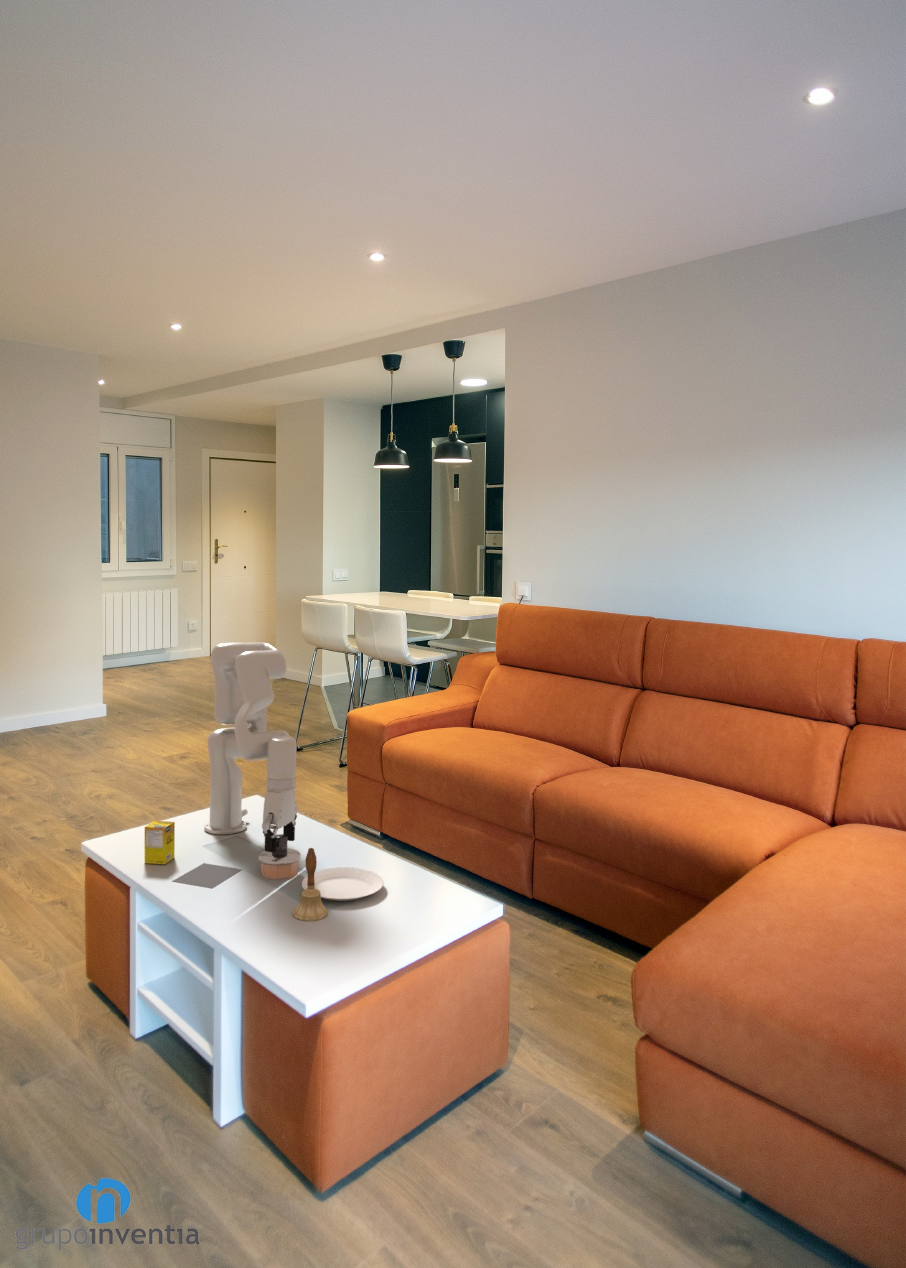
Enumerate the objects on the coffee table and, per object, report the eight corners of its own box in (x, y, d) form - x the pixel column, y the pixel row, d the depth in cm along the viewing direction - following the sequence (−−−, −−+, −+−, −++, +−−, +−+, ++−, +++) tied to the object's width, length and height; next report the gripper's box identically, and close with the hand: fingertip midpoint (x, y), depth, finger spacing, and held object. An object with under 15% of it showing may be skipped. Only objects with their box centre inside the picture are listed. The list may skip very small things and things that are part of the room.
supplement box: (174, 859, 222) (175, 821, 222) (165, 867, 217) (165, 827, 216) (154, 858, 223) (154, 819, 222) (143, 865, 217) (144, 826, 216)
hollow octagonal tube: (272, 866, 220) (273, 850, 220) (302, 870, 218) (302, 854, 217) (255, 877, 212) (255, 861, 211) (286, 882, 209) (286, 865, 209)
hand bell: (311, 924, 185) (313, 857, 184) (285, 915, 190) (286, 849, 188) (335, 912, 192) (337, 847, 191) (309, 903, 197) (310, 840, 196)
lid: (271, 848, 221) (272, 828, 221) (307, 854, 218) (308, 833, 218) (250, 861, 211) (250, 840, 210) (287, 867, 208) (288, 845, 207)
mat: (203, 865, 219) (203, 863, 219) (242, 871, 216) (242, 869, 216) (171, 883, 206) (171, 881, 206) (212, 890, 202) (212, 888, 202)
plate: (284, 895, 202) (284, 886, 201) (334, 869, 220) (334, 861, 220) (352, 914, 192) (352, 905, 192) (398, 885, 211) (398, 877, 210)
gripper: (284, 774, 222) (283, 834, 223) (251, 789, 206) (250, 854, 207) (309, 777, 220) (307, 837, 221) (277, 792, 203) (276, 858, 205)
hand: (279, 845), depth 214 cm, fingers open, 9 cm apart
